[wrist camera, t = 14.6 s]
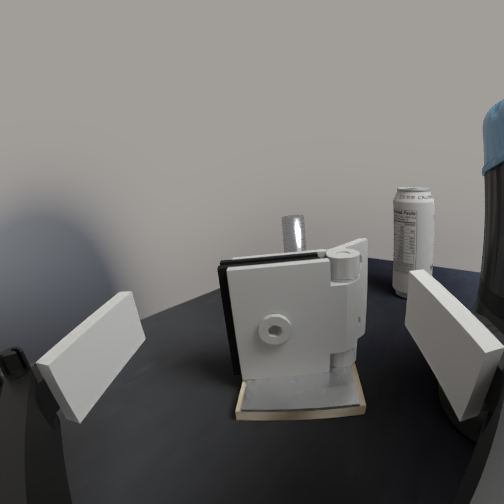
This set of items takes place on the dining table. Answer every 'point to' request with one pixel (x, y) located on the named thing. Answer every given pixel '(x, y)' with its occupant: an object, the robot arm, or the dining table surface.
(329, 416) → the mounting board
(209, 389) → the dining table surface
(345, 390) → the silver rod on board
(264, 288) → the hinge
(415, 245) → the energy drink can
